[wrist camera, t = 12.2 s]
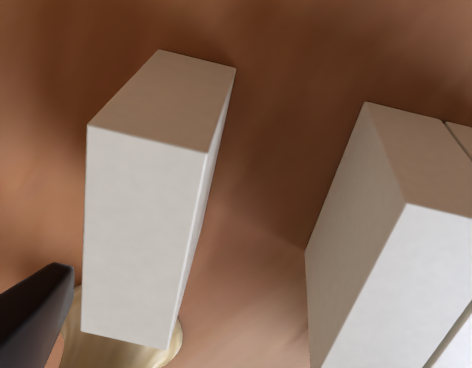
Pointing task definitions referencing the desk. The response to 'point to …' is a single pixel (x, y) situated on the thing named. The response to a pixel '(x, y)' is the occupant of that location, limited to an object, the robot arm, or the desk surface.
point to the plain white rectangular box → (149, 195)
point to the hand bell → (109, 346)
